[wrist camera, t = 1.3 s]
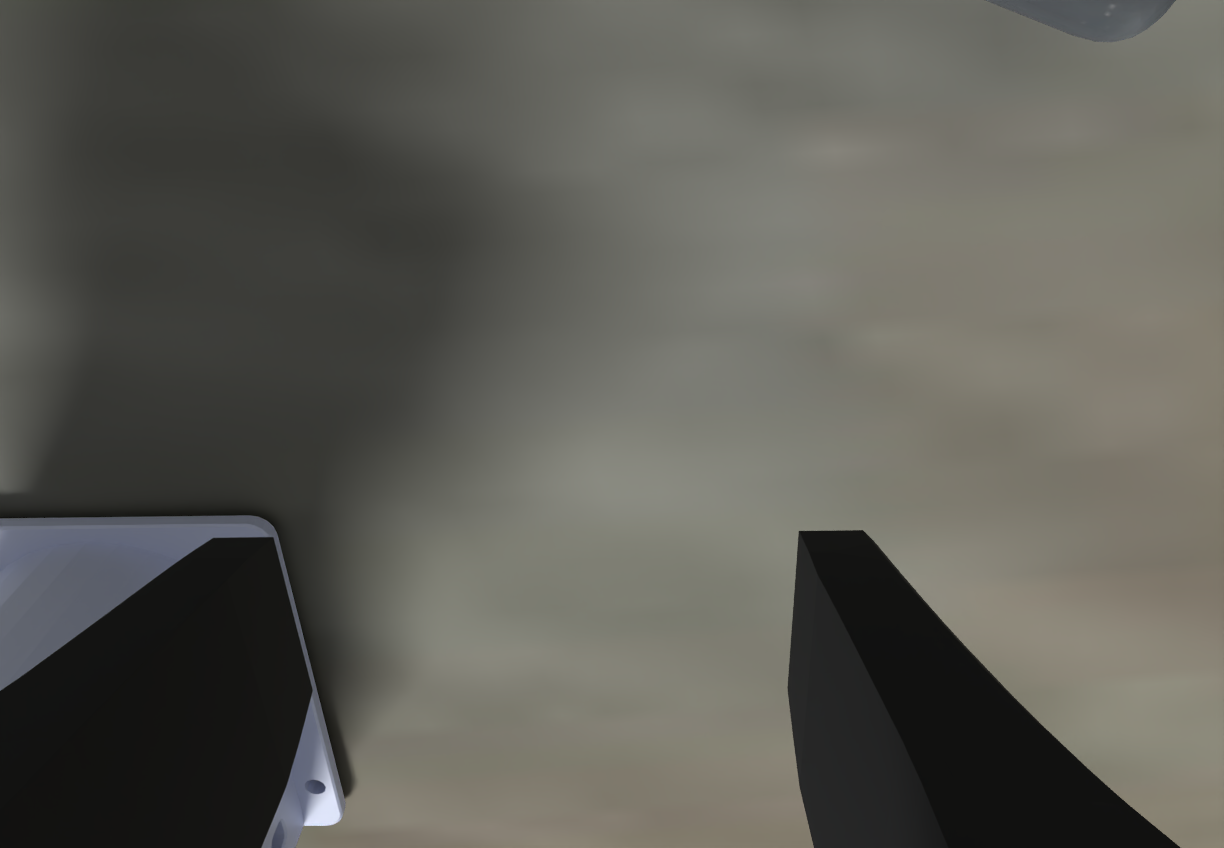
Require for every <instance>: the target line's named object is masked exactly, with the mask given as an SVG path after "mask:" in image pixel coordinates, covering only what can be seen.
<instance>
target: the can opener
mask: <svg viewBox="0 0 1224 848" xmlns="http://www.w3.org/2000/svg"><path fill="white" fill-rule="evenodd" d="M986 1H988V2H991V3H993V4H996V5H998V6H1001V7H1003V8H1006V9H1008V10H1011V11H1013V12H1016V13H1018V14H1021V15H1023V16H1026V17H1028V18H1031V19H1033V20H1036V21H1038V22H1041V23H1043V24H1046V25H1048V26H1051V27H1053V28H1056V29H1058V30H1061V31H1063V32H1066V33H1068V34H1071V35H1073V36H1077V37H1081V38H1084V39H1088V40H1092V41H1097V42H1114V41H1119V40H1124V39H1128V38H1131V37H1134V36H1136V35H1137V34H1139V33H1141V32H1143V31H1145V30H1146V29H1148V28H1149V27H1150V26H1151V25H1153V24H1154V23H1155V22H1156V21H1157V20H1158V19H1160V18H1161V17H1162V16H1163V15H1164V14H1165V13H1166V12H1167V10H1168V9H1169V8H1170V7H1171V5H1172V4H1173V3H1174V2H1175V0H986Z"/></svg>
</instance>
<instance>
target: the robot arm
mask: <svg viewBox="0 0 1224 848" xmlns="http://www.w3.org/2000/svg"><path fill="white" fill-rule="evenodd" d="M788 696H789V705H790V713H791V721H792V730H793V738H794V746H795V754H796V762H797V769H798V777H799V785H800V790H801V794H802V798H803V803H804V807H805V811H806V816H807V820H808V824H809V828H810V832H811V837H812V841H813V845H814V848H1180V847H1179V846H1178V845H1177V844H1175V843H1174V842H1173V841H1172V840H1171V839H1169V838H1168V837H1167V836H1166V835H1165V834H1163V833H1162V832H1161V831H1160V830H1158V829H1157V828H1156V827H1155V826H1154V825H1152V824H1151V823H1150V822H1149V821H1147V820H1146V819H1145V818H1144V817H1143V816H1141V815H1140V814H1139V813H1138V812H1137V811H1135V810H1134V809H1133V808H1132V807H1130V806H1129V805H1128V804H1127V803H1126V802H1125V801H1124V800H1122V799H1121V798H1120V797H1119V796H1118V795H1117V794H1116V793H1114V792H1113V791H1112V790H1111V789H1110V788H1109V787H1108V786H1107V785H1105V784H1104V783H1103V782H1102V781H1101V780H1100V779H1099V778H1098V777H1097V776H1095V775H1094V774H1093V773H1092V772H1091V771H1090V770H1089V769H1088V768H1087V767H1086V766H1085V765H1083V764H1082V763H1081V762H1080V761H1079V760H1078V759H1077V758H1076V757H1075V756H1074V755H1073V754H1072V753H1071V752H1070V751H1069V750H1068V749H1067V748H1066V747H1064V746H1063V745H1062V744H1061V743H1060V742H1059V741H1058V740H1057V739H1056V738H1055V737H1054V736H1053V735H1052V734H1051V733H1050V732H1049V731H1048V730H1046V729H1045V728H1044V727H1043V726H1042V725H1041V724H1040V723H1039V722H1038V721H1037V720H1036V719H1035V718H1034V717H1033V716H1032V715H1031V714H1030V713H1029V712H1028V711H1027V710H1026V709H1025V708H1024V707H1023V706H1022V705H1021V704H1020V703H1019V702H1018V701H1017V700H1016V699H1015V698H1014V697H1013V696H1012V695H1011V694H1010V693H1009V692H1008V691H1007V690H1006V689H1005V688H1004V686H1003V685H1002V684H1001V683H1000V682H999V681H998V680H997V679H996V678H995V677H994V676H993V675H992V674H991V673H990V672H989V671H988V670H987V669H986V668H985V667H984V665H983V664H982V663H981V662H980V661H979V660H978V659H977V658H976V657H975V656H974V655H973V654H972V653H971V652H970V651H969V650H968V649H967V648H966V647H965V646H964V644H963V643H962V642H961V641H960V640H959V639H958V638H957V637H956V636H955V635H954V633H953V632H952V631H951V630H950V629H949V628H948V627H947V626H946V625H945V624H944V622H943V621H942V620H941V619H940V618H939V617H938V616H937V614H936V613H935V612H934V611H933V610H932V609H931V608H930V607H929V605H928V604H927V603H926V602H925V601H924V600H923V599H922V597H921V596H920V595H919V594H918V593H917V592H916V590H915V589H914V588H913V587H912V586H911V585H910V583H909V582H908V581H907V580H906V579H905V578H904V576H903V575H902V574H901V573H900V572H899V571H898V569H897V568H896V567H895V566H894V565H893V563H892V562H891V561H890V560H889V559H888V557H887V556H886V555H885V554H884V553H883V551H882V550H881V549H880V548H879V547H878V546H877V544H876V543H875V542H874V541H873V540H872V539H871V538H870V537H869V536H868V535H867V534H866V533H865V532H864V531H863V530H853V531H799V537H798V551H797V565H796V579H795V593H794V607H793V621H792V635H791V649H790V663H789V677H788ZM316 780H318V781H316ZM345 804H346V802H345V798H344V794H343V791H342V787H341V783H340V779H339V775H338V771H337V767H336V763H335V759H334V755H333V751H332V747H331V743H330V739H329V735H328V731H327V727H326V724H325V720H324V716H323V712H322V708H321V704H320V700H319V696H318V692H317V688H316V684H315V680H314V676H313V672H312V668H311V664H310V660H309V657H308V653H307V649H306V645H305V641H304V637H303V633H302V629H301V625H300V621H299V617H298V613H297V609H296V605H295V601H294V597H293V593H292V590H291V586H290V582H289V578H288V574H287V570H286V566H285V562H284V558H283V554H282V550H281V546H280V542H279V538H278V534H277V532H276V530H275V528H274V527H273V526H272V525H271V524H270V523H269V522H268V521H267V520H265V519H262V518H260V517H257V516H251V515H238V516H157V517H76V518H0V848H295V847H296V845H297V842H298V839H299V836H300V834H301V831H302V828H303V826H327V825H333V824H335V823H337V822H339V821H340V820H341V818H342V816H343V813H344V810H345Z"/></svg>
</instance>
